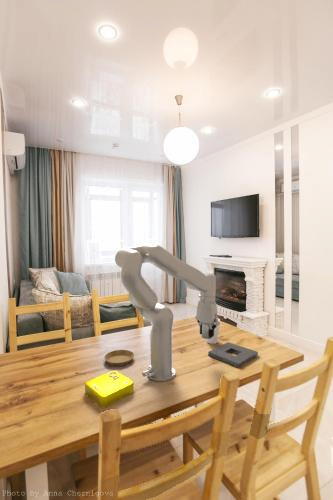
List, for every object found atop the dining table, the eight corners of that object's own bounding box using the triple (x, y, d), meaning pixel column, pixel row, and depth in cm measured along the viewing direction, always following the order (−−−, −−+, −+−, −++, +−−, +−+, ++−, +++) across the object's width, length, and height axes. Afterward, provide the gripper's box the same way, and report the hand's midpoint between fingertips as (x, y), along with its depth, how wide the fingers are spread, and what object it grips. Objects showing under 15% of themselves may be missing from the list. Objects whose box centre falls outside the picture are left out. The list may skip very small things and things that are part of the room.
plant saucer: (118, 352, 143) (118, 347, 143) (140, 358, 136) (139, 353, 135) (98, 363, 130) (97, 358, 130) (121, 371, 123) (120, 365, 123)
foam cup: (221, 344, 150) (221, 322, 150) (204, 344, 151) (204, 322, 150) (218, 338, 160) (218, 317, 159) (202, 338, 160) (202, 317, 159)
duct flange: (238, 367, 124) (238, 363, 124) (208, 355, 137) (208, 351, 137) (257, 355, 136) (257, 351, 136) (228, 345, 149) (228, 342, 149)
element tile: (83, 392, 106) (82, 381, 106) (115, 378, 117) (115, 367, 116) (102, 410, 95) (102, 397, 95) (135, 392, 106) (135, 381, 106)
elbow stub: (207, 339, 127) (208, 323, 127) (199, 336, 131) (199, 320, 131) (214, 337, 131) (214, 321, 131) (205, 334, 135) (206, 318, 135)
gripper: (189, 297, 134) (188, 332, 135) (217, 303, 122) (216, 342, 122) (199, 295, 139) (198, 329, 140) (226, 300, 127) (225, 338, 127)
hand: (206, 334), depth 131 cm, fingers closed on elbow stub, 5 cm apart
